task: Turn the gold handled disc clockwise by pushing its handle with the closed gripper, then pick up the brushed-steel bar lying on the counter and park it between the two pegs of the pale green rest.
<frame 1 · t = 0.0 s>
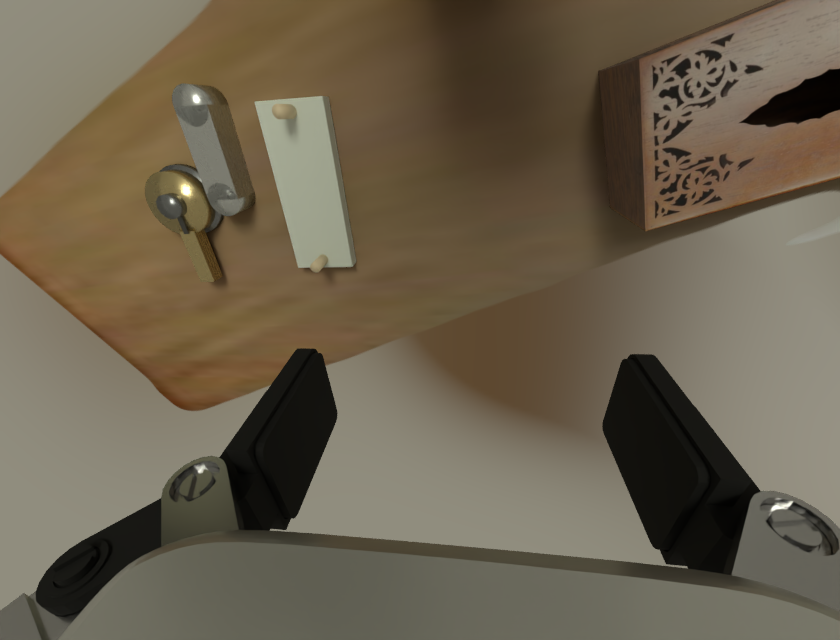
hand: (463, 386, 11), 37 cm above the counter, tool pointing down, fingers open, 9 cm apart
peg rest: (314, 190, 45), on the counter
round gray base: (191, 199, 47), on the counter
tissue box cover: (737, 98, 35), on the counter
gold handled disc: (188, 230, 47), point 3 cm above the counter, hinge at 0.0°
steel bar: (227, 152, 43), on the counter
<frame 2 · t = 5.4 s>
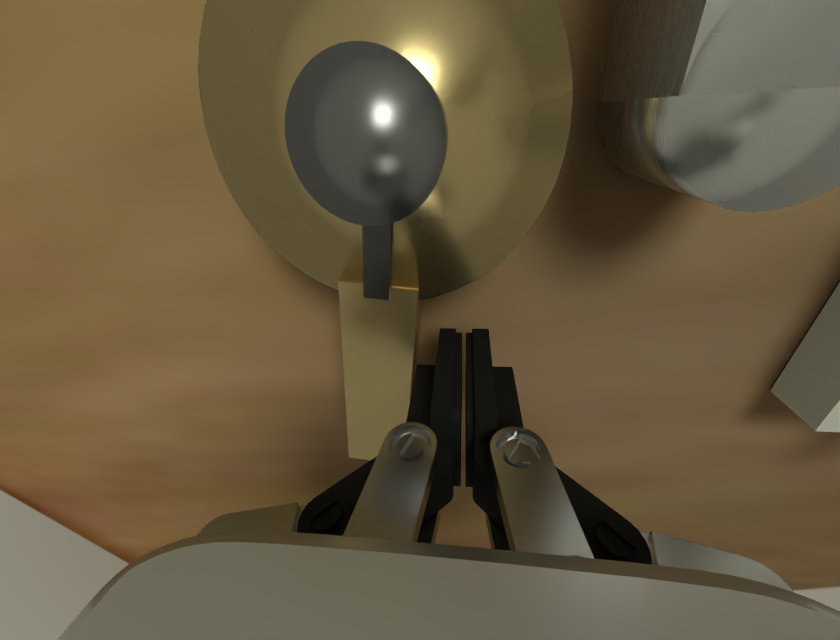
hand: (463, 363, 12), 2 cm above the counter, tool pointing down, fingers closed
gold handled disc: (380, 279, 10), point 3 cm above the counter, hinge at 6.8°, touching gripper
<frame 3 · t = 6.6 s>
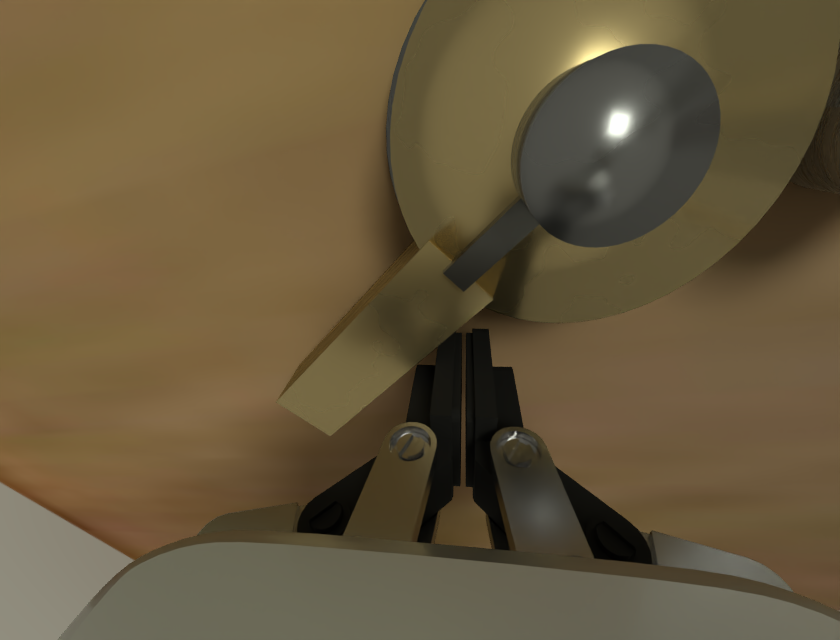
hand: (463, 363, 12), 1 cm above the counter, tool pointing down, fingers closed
round gray base: (551, 142, 9), on the counter
gold handled disc: (462, 265, 9), point 3 cm above the counter, hinge at 44.7°, touching gripper
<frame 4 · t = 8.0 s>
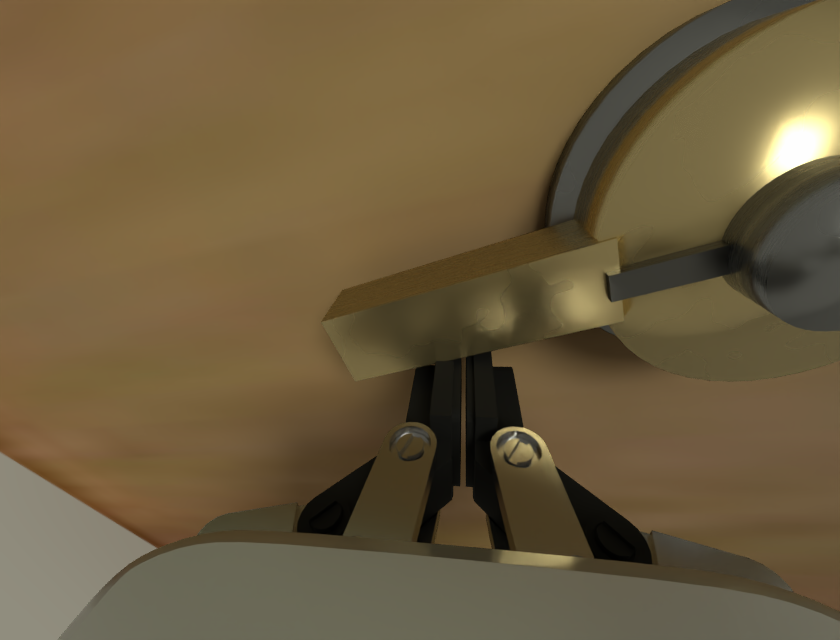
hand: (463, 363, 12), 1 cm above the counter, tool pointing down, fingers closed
round gray base: (709, 201, 10), on the counter
gold handled disc: (614, 275, 8), point 3 cm above the counter, hinge at 73.1°, touching gripper
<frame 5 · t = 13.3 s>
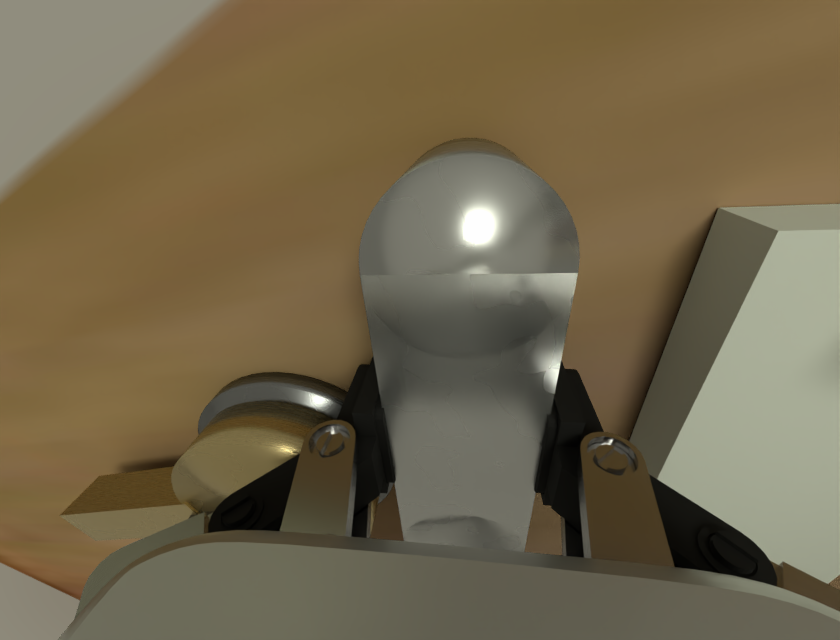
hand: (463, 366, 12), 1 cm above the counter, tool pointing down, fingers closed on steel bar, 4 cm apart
peg rest: (730, 462, 14), on the counter
round gray base: (303, 446, 16), on the counter
gold handled disc: (207, 509, 15), point 3 cm above the counter, hinge at 75.5°
steel bar: (463, 357, 12), on the counter, touching gripper
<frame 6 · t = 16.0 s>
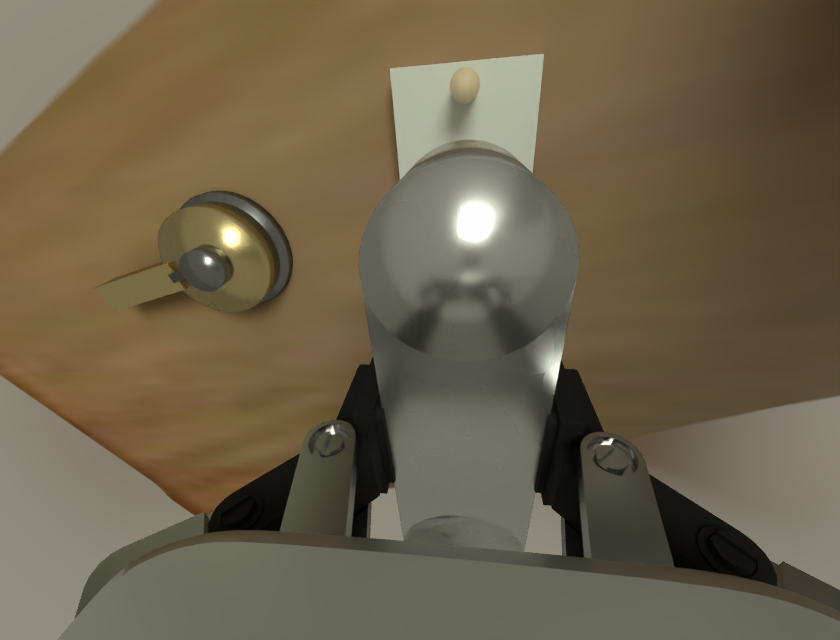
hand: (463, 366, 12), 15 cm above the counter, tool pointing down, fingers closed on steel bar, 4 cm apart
peg rest: (464, 236, 25), on the counter
round gray base: (237, 249, 27), on the counter
gold handled disc: (179, 274, 26), point 3 cm above the counter, hinge at 75.5°
steel bar: (463, 357, 12), point 15 cm above the counter, touching gripper
when the fingers open (3 cm above the counter, at t = 18.5 s): steel bar stays where it is, resting on peg rest.
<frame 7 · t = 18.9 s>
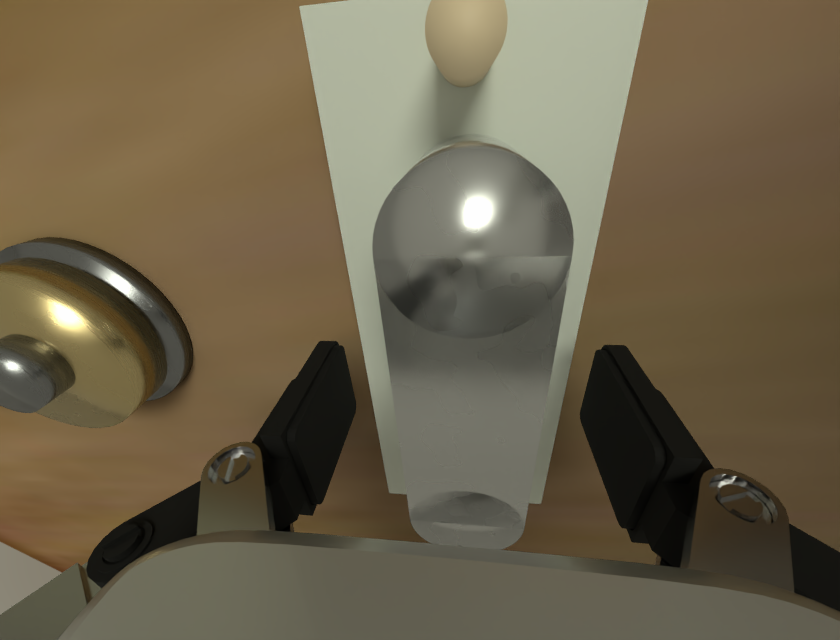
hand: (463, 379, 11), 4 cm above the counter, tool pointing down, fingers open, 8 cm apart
peg rest: (463, 317, 15), on the counter
round gray base: (104, 324, 17), on the counter
steel bar: (466, 344, 13), point 2 cm above the counter, touching peg rest
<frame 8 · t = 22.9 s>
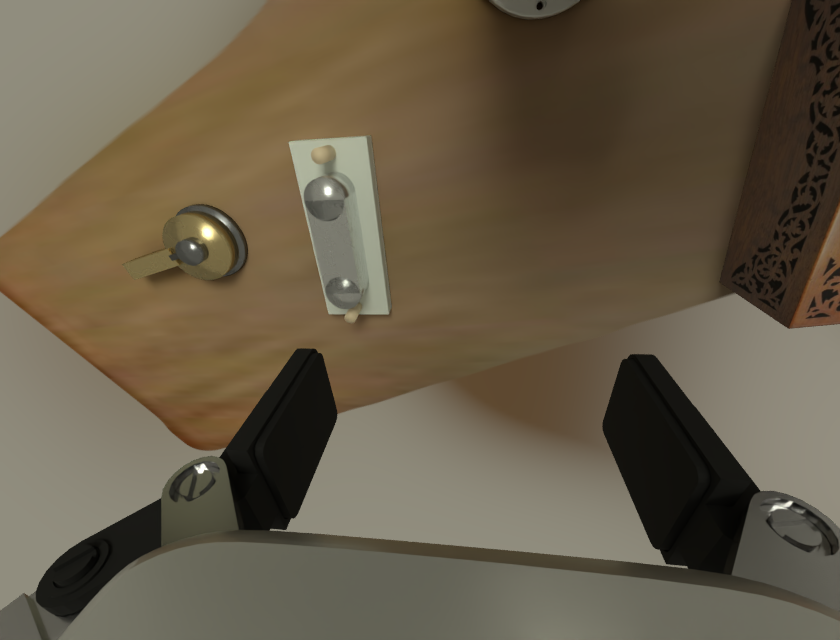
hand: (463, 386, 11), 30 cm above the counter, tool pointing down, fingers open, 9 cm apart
peg rest: (349, 233, 40), on the counter
round gray base: (212, 240, 43), on the counter
tissue box cover: (839, 142, 31), on the counter
gold handled disc: (175, 256, 41), point 3 cm above the counter, hinge at 75.5°
steel bar: (345, 238, 39), point 2 cm above the counter, touching peg rest
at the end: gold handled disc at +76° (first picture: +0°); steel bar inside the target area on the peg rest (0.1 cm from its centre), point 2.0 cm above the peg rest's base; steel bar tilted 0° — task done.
